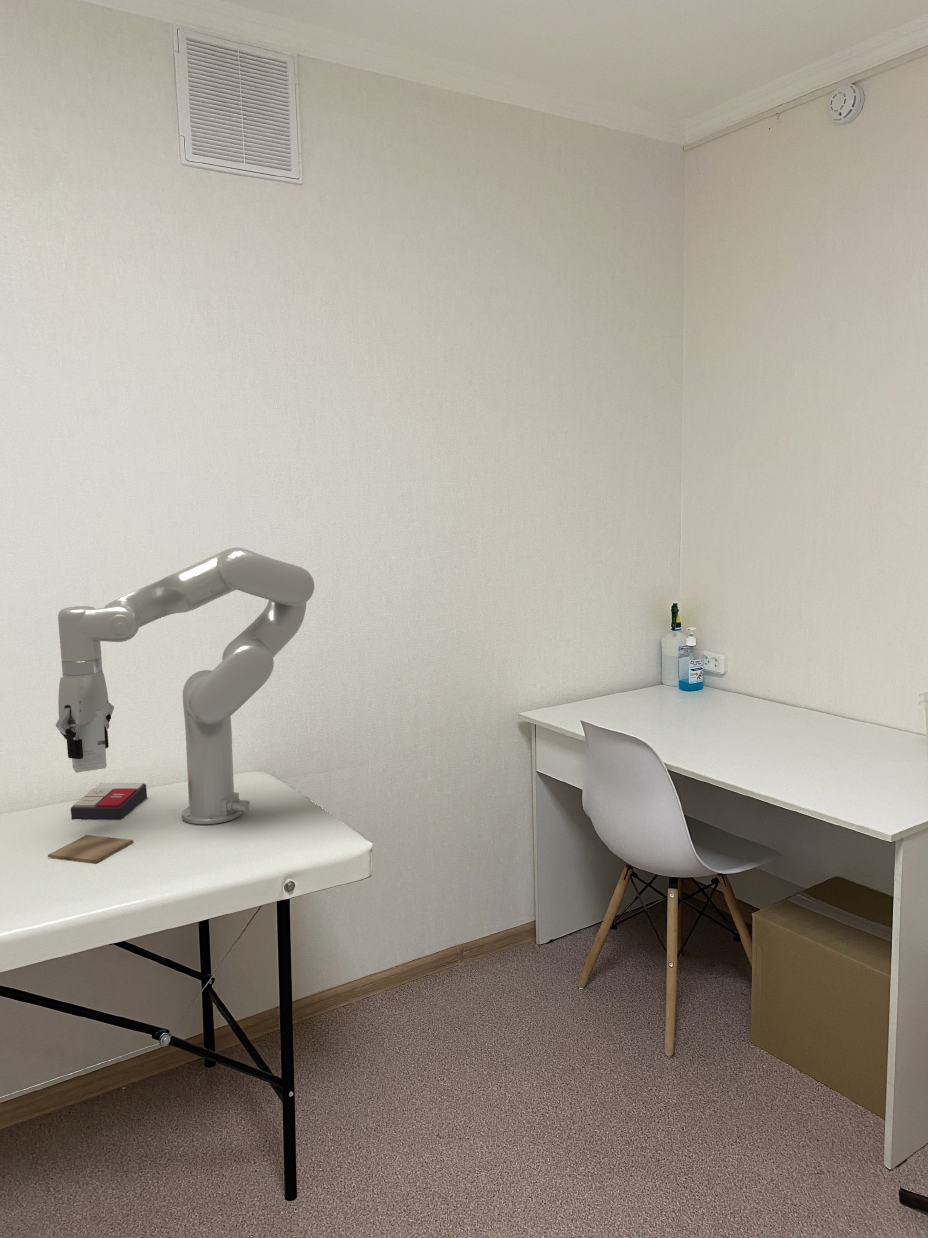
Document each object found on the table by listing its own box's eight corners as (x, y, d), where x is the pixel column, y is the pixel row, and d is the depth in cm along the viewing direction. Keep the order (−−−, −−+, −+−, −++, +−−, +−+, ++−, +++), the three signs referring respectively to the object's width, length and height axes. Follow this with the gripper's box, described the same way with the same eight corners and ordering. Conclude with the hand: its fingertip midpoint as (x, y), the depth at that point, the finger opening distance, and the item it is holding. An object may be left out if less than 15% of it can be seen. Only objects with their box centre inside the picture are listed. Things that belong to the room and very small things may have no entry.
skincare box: (76, 773, 185) (71, 714, 183) (72, 768, 188) (67, 710, 187) (108, 768, 188) (104, 710, 187) (103, 763, 192) (99, 706, 190)
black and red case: (69, 804, 196) (99, 780, 211) (71, 823, 197) (101, 798, 212) (119, 805, 196) (146, 780, 211) (121, 824, 197) (147, 798, 212)
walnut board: (133, 842, 183) (133, 840, 183) (96, 863, 172) (96, 860, 172) (86, 837, 186) (86, 834, 186) (48, 857, 176) (47, 854, 176)
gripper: (95, 659, 195) (101, 741, 197) (35, 675, 178) (43, 764, 181) (125, 660, 193) (131, 743, 195) (68, 676, 176) (75, 766, 179)
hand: (88, 752), depth 188 cm, fingers closed on skincare box, 7 cm apart
